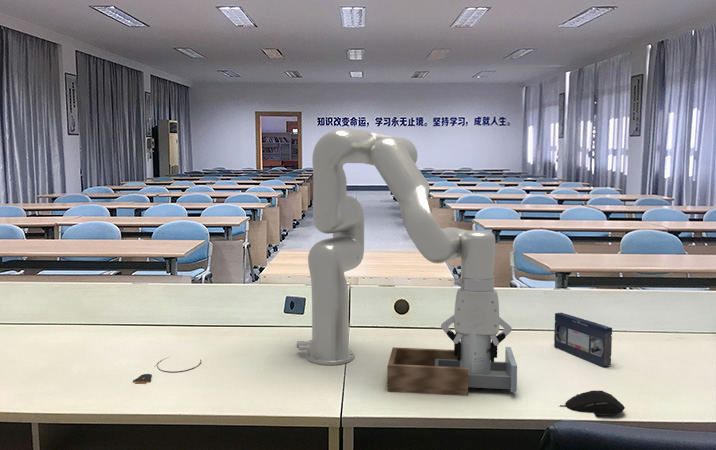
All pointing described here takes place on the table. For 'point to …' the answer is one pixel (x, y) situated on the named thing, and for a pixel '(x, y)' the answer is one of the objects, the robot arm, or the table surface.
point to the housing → (425, 372)
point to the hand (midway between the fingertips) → (475, 359)
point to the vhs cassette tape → (583, 339)
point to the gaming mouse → (595, 403)
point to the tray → (491, 373)
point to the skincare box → (475, 353)
